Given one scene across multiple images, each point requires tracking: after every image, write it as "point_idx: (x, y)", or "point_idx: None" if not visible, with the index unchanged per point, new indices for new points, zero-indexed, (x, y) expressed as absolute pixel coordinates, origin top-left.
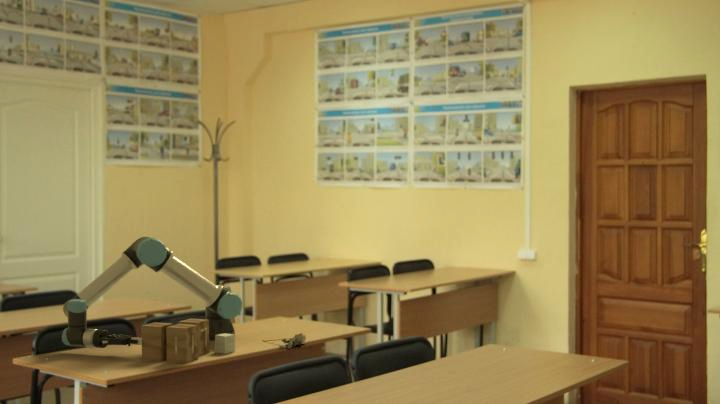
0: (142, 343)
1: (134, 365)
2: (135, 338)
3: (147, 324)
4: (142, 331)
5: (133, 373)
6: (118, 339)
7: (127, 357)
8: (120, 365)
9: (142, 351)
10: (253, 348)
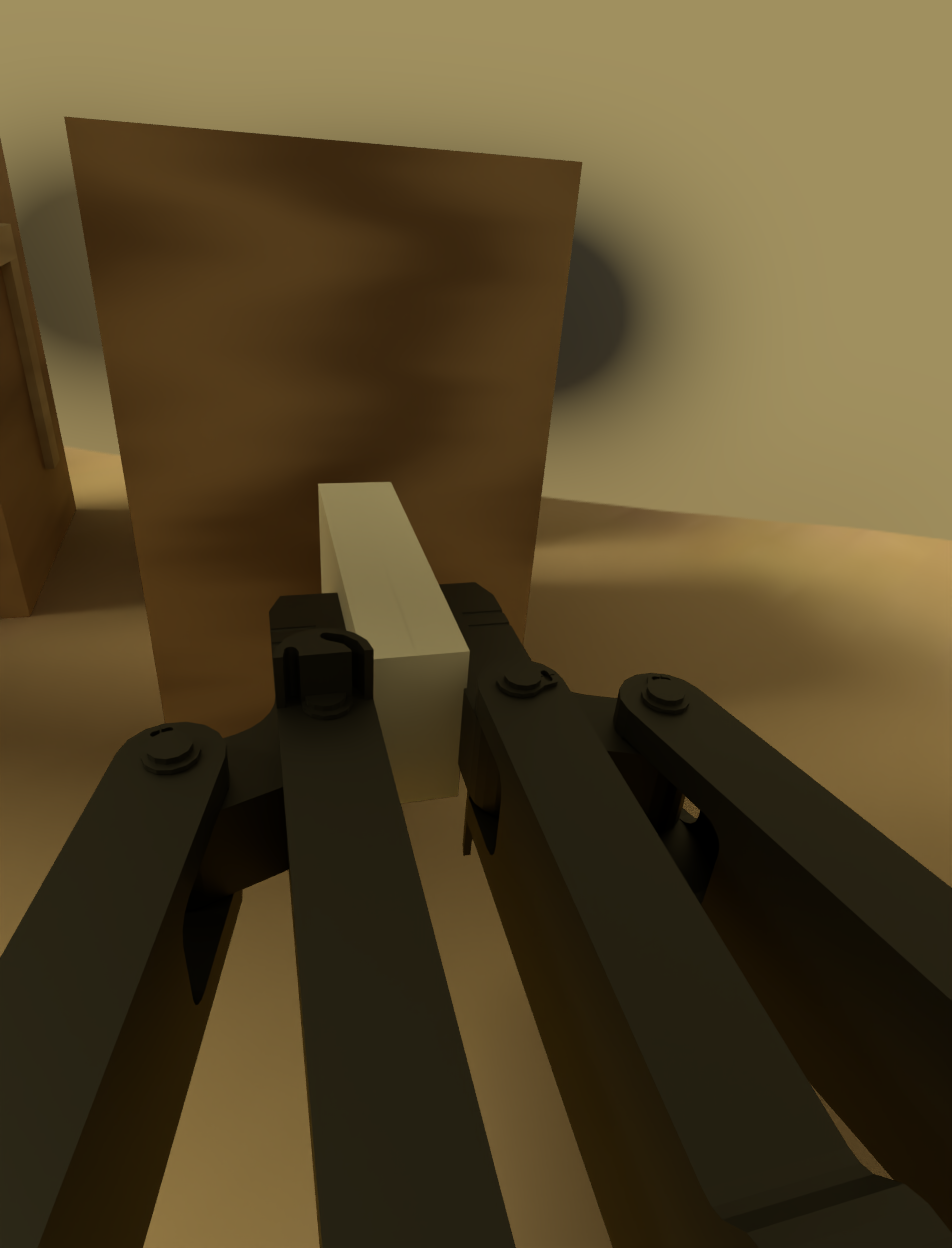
0: (535, 505)
1: (751, 649)
2: (438, 589)
3: (410, 147)
4: (560, 290)
5: (892, 535)
6: (845, 822)
7: (488, 1072)
8: (899, 737)
9: (522, 620)
10: None
